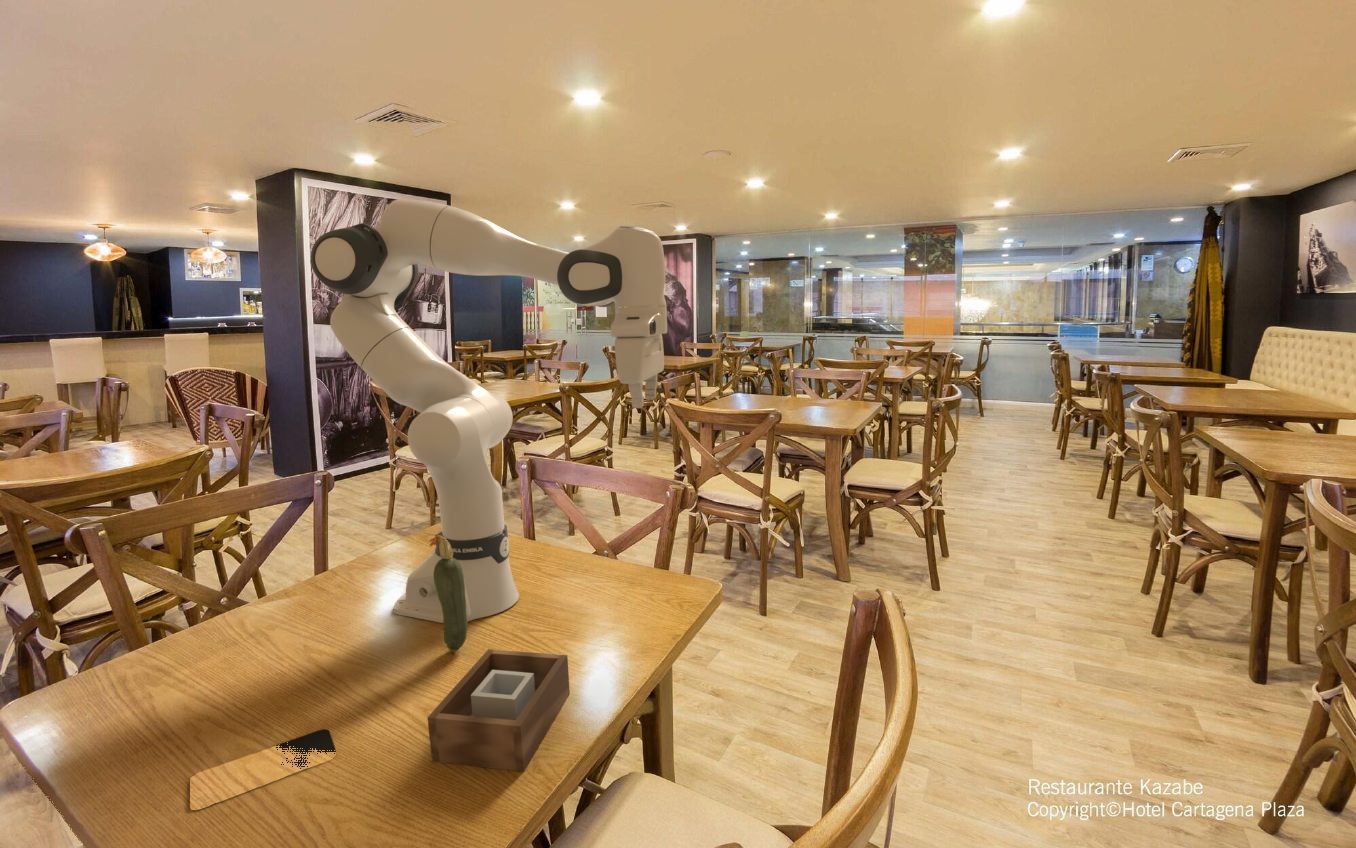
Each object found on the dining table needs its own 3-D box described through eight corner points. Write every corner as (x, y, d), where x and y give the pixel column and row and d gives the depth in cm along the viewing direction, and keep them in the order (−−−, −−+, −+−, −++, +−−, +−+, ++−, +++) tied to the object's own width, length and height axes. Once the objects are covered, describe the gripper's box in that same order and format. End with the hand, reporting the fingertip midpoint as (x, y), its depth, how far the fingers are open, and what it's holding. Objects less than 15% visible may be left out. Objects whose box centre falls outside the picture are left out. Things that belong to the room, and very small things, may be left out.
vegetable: (476, 649, 107) (465, 531, 104) (459, 663, 103) (447, 541, 100) (453, 645, 109) (442, 529, 105) (435, 658, 105) (423, 538, 101)
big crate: (432, 761, 81) (427, 717, 80) (491, 687, 96) (488, 649, 95) (524, 771, 79) (520, 726, 78) (569, 693, 94) (567, 655, 93)
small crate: (474, 730, 85) (470, 695, 84) (495, 703, 91) (492, 669, 90) (517, 735, 84) (514, 699, 83) (536, 706, 90) (533, 673, 89)
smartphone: (337, 756, 82) (189, 811, 74) (338, 761, 82) (189, 817, 74) (328, 726, 88) (189, 774, 79) (328, 731, 88) (190, 779, 79)
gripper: (638, 322, 125) (641, 394, 127) (607, 326, 105) (611, 412, 107) (671, 321, 123) (673, 394, 126) (646, 325, 104) (649, 412, 106)
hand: (644, 403), depth 116 cm, fingers open, 8 cm apart
